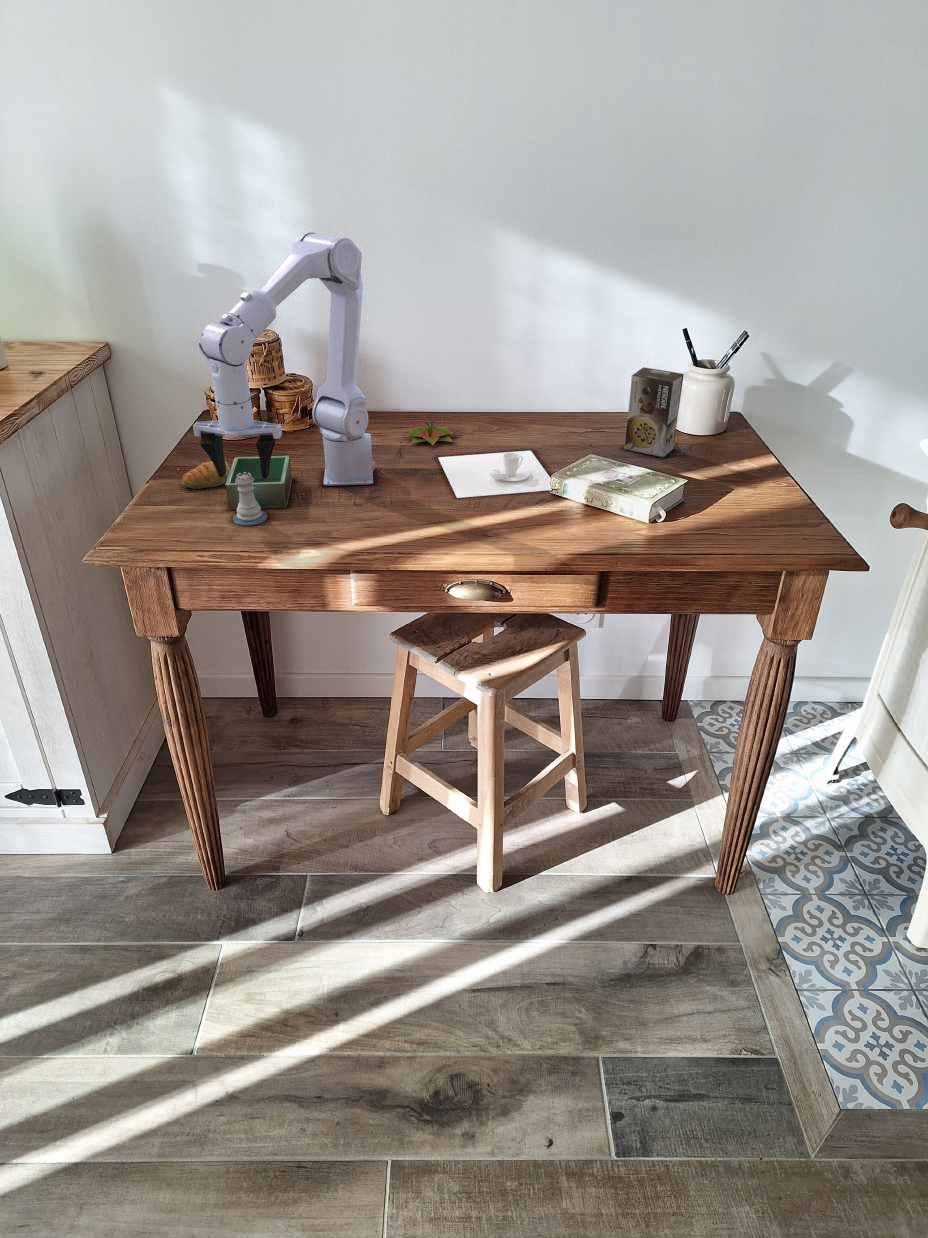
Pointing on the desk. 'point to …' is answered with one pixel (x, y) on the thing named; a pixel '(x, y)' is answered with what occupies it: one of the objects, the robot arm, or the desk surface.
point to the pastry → (205, 476)
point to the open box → (262, 481)
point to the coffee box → (653, 411)
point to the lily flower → (430, 433)
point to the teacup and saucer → (495, 474)
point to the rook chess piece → (247, 499)
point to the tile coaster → (249, 523)
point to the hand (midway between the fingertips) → (244, 475)
